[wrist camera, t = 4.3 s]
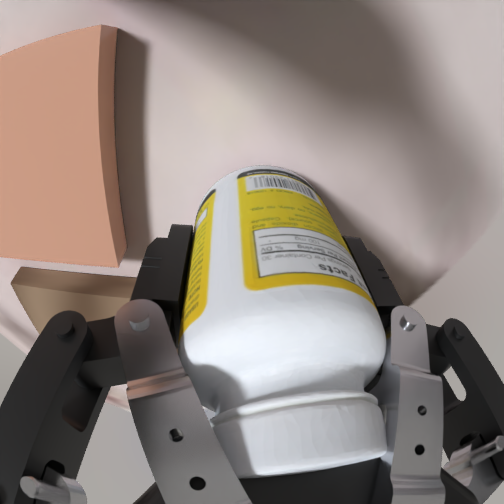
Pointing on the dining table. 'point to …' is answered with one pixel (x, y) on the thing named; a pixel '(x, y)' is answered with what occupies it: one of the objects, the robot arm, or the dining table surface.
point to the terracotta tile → (60, 151)
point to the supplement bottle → (280, 329)
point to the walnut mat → (70, 294)
